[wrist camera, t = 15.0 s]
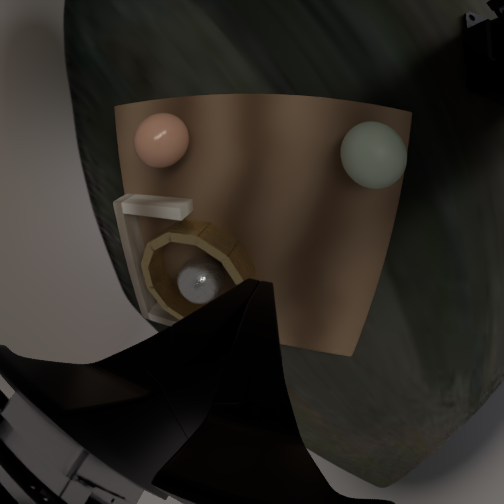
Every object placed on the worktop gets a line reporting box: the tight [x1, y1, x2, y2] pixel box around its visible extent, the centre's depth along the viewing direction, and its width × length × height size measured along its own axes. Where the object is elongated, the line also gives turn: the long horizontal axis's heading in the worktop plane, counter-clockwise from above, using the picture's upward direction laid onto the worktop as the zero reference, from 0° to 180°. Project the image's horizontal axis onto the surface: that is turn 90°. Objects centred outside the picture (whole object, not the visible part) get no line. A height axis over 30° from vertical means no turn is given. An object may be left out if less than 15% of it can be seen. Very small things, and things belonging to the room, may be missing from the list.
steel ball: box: [177, 256, 224, 304], centre depth 24 cm, size 4×4×4 cm
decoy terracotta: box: [133, 113, 189, 168], centre depth 18 cm, size 4×4×4 cm
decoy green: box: [341, 121, 407, 189], centre depth 15 cm, size 4×4×4 cm
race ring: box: [141, 219, 256, 320], centre depth 25 cm, size 10×10×2 cm
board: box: [113, 94, 412, 357], centre depth 23 cm, size 23×22×3 cm
